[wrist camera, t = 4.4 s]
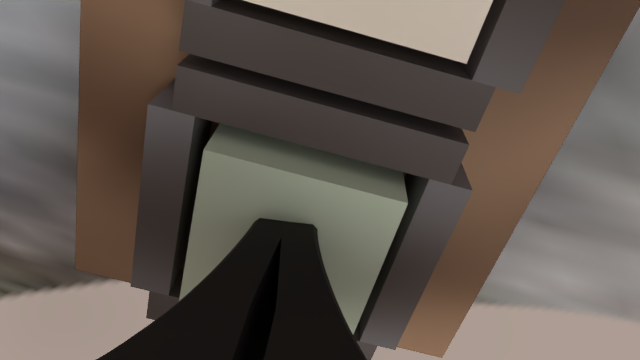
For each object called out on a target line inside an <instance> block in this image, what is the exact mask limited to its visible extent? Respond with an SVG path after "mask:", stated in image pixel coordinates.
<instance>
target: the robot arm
mask: <svg viewBox="0 0 640 360" xmlns="http://www.w3.org/2000/svg"><path fill="white" fill-rule="evenodd" d="M317 231H318V229H317V228H316V227H315V226H314V225H313V224H305V223H297V222H288V221H280V220H272V219H264V218H259V219H257V220H256V221H255V222H254V223H253V224H252V226H251V227H250V228H249V230H248V231H247V232H246V234H245V235H244V236H243V237H242V238H241V240H240V241H239V242H238V243H237V244H236V246H235V247H234V248H233V249H232V250H231V251H230V252H229V253H228V254H227V256H226V257H225V258H224V259H223V260H222V261H221V262H220V263H219V264H218V265H217V266H216V267H215V268H214V269H213V270H212V271H211V272H210V273H209V274H208V275H207V276H206V277H205V278H204V279H203V280H202V281H201V282H200V283H199V284H198V285H197V286H196V287H194V288H193V289H192V290H191V291H190V292H189V293H188V294H187V295H186V296H185V297H183V298H182V299H181V300H180V301H179V302H178V303H176V304H175V305H174V306H173V307H172V308H170V309H169V310H168V311H167V312H165V313H164V314H163V315H161V316H160V317H159V318H158V319H156V320H155V321H154V322H152V323H151V324H150V325H148V326H147V327H146V328H144V329H143V330H141V331H140V332H138V333H137V334H135V335H134V336H132V337H131V338H130V339H128V340H127V341H125V342H124V343H122V344H121V345H119V346H118V347H116V348H115V349H113V350H111V351H110V352H108V353H107V354H105V355H103V356H102V357H100V358H98V359H97V360H367V359H366V357H365V355H364V354H363V352H362V350H361V349H360V347H359V345H358V343H357V341H356V340H355V338H354V336H353V334H352V332H351V330H350V328H349V326H348V324H347V322H346V320H345V318H344V316H343V314H342V311H341V309H340V307H339V304H338V302H337V300H336V297H335V295H334V292H333V290H332V287H331V284H330V281H329V279H328V276H327V273H326V270H325V267H324V263H323V260H322V256H321V252H320V247H319V242H318V233H317Z"/></svg>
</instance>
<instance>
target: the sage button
mask: <svg viewBox="0 0 640 360" xmlns="http://www.w3.org/2000/svg"><path fill="white" fill-rule="evenodd" d="M407 205H408V199H407V193H406V188H405V182H404V176H403V172H401V171H397V170H393V169H390V168H386V167H382V166H378V165H375V164H371V163H367V162H363V161H360V160H356V159H352V158H348V157H345V156H341V155H337V154H333V153H330V152H326V151H322V150H318V149H315V148H311V147H307V146H303V145H300V144H296V143H292V142H288V141H285V140H281V139H277V138H273V137H270V136H266V135H262V134H258V133H255V132H251V131H247V130H243V129H240V128H236V127H232V126H228V125H225V124H221V123H220V124H219V126H218V127H217V129H216V130H215V132H214V134H213V135H212V137H211V138H210V140H209V142H208V143H207V145H206V146H205V148H204V150H203V156H202V162H201V168H200V174H199V180H198V187H197V193H196V199H195V205H194V211H193V217H192V224H191V230H190V236H189V242H188V248H187V254H186V261H185V267H184V273H183V279H182V285H181V291H180V298H179V301H180V300H181V299H182V298H183V297H185V296H186V295H187V294H188V293H189V292H190V291H191V290H192V289H193V288H194V287H196V286H197V285H198V284H199V283H200V282H201V281H202V280H203V279H204V278H205V277H206V276H207V275H208V274H209V273H210V272H211V271H212V270H213V269H214V268H215V267H216V266H217V265H218V264H219V263H220V262H221V261H222V260H223V259H224V258H225V257H226V256H227V254H228V253H229V252H230V251H231V250H232V249H233V248H234V247H235V246H236V244H237V243H238V242H239V241H240V240H241V238H242V237H243V236H244V235H245V234H246V232H247V231H248V230H249V228H250V227H251V226H252V224H253V223H254V222H255V221H256V220H257V219H259V218H264V219H272V220H280V221H288V222H297V223H305V224H313V225H314V226H315V227H316V228H317V229H318V231H317V233H318V242H319V247H320V252H321V256H322V260H323V263H324V267H325V270H326V273H327V276H328V279H329V281H330V284H331V287H332V290H333V292H334V295H335V297H336V300H337V302H338V304H339V307H340V309H341V311H342V314H343V316H344V318H345V320H346V322H347V324H348V326H349V328H350V330H351V332H352V334H354V332H355V329H356V327H357V325H358V322H359V320H360V317H361V315H362V313H363V310H364V308H365V306H366V303H367V301H368V298H369V296H370V294H371V291H372V289H373V286H374V284H375V282H376V279H377V277H378V274H379V272H380V270H381V267H382V265H383V262H384V260H385V258H386V255H387V253H388V250H389V248H390V246H391V243H392V241H393V238H394V236H395V234H396V231H397V229H398V227H399V224H400V222H401V219H402V217H403V215H404V212H405V210H406V207H407Z"/></svg>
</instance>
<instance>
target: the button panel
mask: <svg viewBox="0 0 640 360" xmlns="http://www.w3.org/2000/svg"><path fill="white" fill-rule="evenodd" d="M639 7H640V0H493V2H492V4H491V7H490V9H489V11H488V14H487V16H486V19H485V21H484V23H483V26H482V28H481V30H480V33H479V35H478V38H477V40H476V42H475V45H474V47H473V50H472V52H471V54H470V57H469V59H468V62H467V64H465V63H461V62H458V61H454V60H451V59H447V58H444V57H440V56H437V55H433V54H430V53H426V52H423V51H419V50H416V49H412V48H409V47H405V46H402V45H398V44H395V43H391V42H388V41H384V40H381V39H377V38H374V37H370V36H367V35H363V34H360V33H356V32H353V31H349V30H346V29H342V28H339V27H335V26H332V25H328V24H325V23H321V22H317V21H314V20H310V19H307V18H303V17H300V16H296V15H293V14H289V13H286V12H282V11H279V10H275V9H272V8H268V7H265V6H261V5H258V4H254V3H251V2H247V1H244V0H81V15H80V63H79V112H78V161H77V209H76V258H75V270H79V271H83V272H88V273H92V274H96V275H100V276H104V277H108V278H113V279H117V280H121V281H125V282H129V283H131V287H136V288H140V289H144V290H148V291H150V293H149V302H148V309H147V318H149V319H153V320H156V319H158V318H159V317H160V316H161V315H163V314H164V313H165V312H167V311H168V310H169V309H170V308H172V307H173V306H174V305H175V304H176V303H178V302H179V298H180V291H181V285H182V279H183V273H184V267H185V261H186V254H187V248H188V242H189V236H190V230H191V224H192V217H193V211H194V205H195V199H196V193H197V187H198V180H199V174H200V168H201V162H202V156H203V150H204V148H205V146H206V145H207V143H208V142H209V140H210V138H211V137H212V135H213V134H214V132H215V130H216V129H217V127H218V126H219V124H220V123H221V124H225V125H228V126H232V127H236V128H240V129H243V130H247V131H251V132H255V133H258V134H262V135H266V136H270V137H273V138H277V139H281V140H285V141H288V142H292V143H296V144H300V145H303V146H307V147H311V148H315V149H318V150H322V151H326V152H330V153H333V154H337V155H341V156H345V157H348V158H352V159H356V160H360V161H363V162H367V163H371V164H375V165H378V166H382V167H386V168H390V169H393V170H397V171H401V172H403V176H404V182H405V188H406V193H407V199H408V205H407V207H406V210H405V212H404V215H403V217H402V219H401V222H400V224H399V227H398V229H397V231H396V234H395V236H394V238H393V241H392V243H391V246H390V248H389V250H388V253H387V255H386V258H385V260H384V262H383V265H382V267H381V270H380V272H379V274H378V277H377V279H376V282H375V284H374V286H373V289H372V291H371V294H370V296H369V298H368V301H367V303H366V306H365V308H364V310H363V313H362V315H361V317H360V320H359V322H358V325H357V327H356V329H355V332H354V334H353V336H354V338H355V340H356V341H357V343H358V345H359V347H360V349H361V350H362V352H363V354H364V355H365V357H366V359H367V360H371V358H372V356H373V354H374V352H375V350H376V347H377V346H381V347H386V348H390V349H394V350H395V349H396V347H399V348H403V349H408V350H412V351H416V352H420V353H424V354H428V355H433V356H437V357H441V358H442V357H443V355H444V353H445V352H446V350H447V348H448V346H449V344H450V342H451V341H452V339H453V337H454V336H455V334H456V332H457V330H458V329H459V327H460V325H461V323H462V321H463V320H464V318H465V316H466V314H467V313H468V311H469V309H470V307H471V305H472V304H473V302H474V300H475V298H476V297H477V295H478V293H479V291H480V289H481V288H482V286H483V284H484V282H485V281H486V279H487V277H488V275H489V273H490V272H491V270H492V268H493V266H494V265H495V263H496V261H497V259H498V257H499V256H500V254H501V252H502V250H503V249H504V247H505V245H506V243H507V241H508V240H509V238H510V236H511V234H512V233H513V231H514V229H515V227H516V225H517V224H518V222H519V220H520V218H521V217H522V215H523V213H524V211H525V209H526V208H527V206H528V204H529V202H530V201H531V199H532V197H533V195H534V193H535V192H536V190H537V188H538V186H539V185H540V183H541V181H542V179H543V177H544V176H545V174H546V172H547V170H548V169H549V167H550V165H551V163H552V161H553V160H554V158H555V156H556V154H557V153H558V151H559V149H560V147H561V145H562V144H563V142H564V140H565V138H566V137H567V135H568V133H569V131H570V129H571V128H572V126H573V124H574V122H575V121H576V119H577V117H578V115H579V113H580V112H581V110H582V108H583V106H584V105H585V103H586V101H587V99H588V97H589V96H590V94H591V92H592V90H593V89H594V87H595V85H596V83H597V81H598V80H599V78H600V76H601V74H602V73H603V71H604V69H605V67H606V65H607V64H608V62H609V60H610V58H611V57H612V55H613V53H614V51H615V49H616V48H617V46H618V44H619V42H620V41H621V39H622V37H623V35H624V33H625V32H626V30H627V28H628V26H629V25H630V23H631V21H632V19H633V17H634V16H635V14H636V12H637V10H638V9H639Z"/></svg>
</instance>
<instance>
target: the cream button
mask: <svg viewBox="0 0 640 360" xmlns="http://www.w3.org/2000/svg"><path fill="white" fill-rule="evenodd" d="M244 1H247V2H251V3H254V4H258V5H261V6H265V7H268V8H272V9H275V10H279V11H282V12H286V13H289V14H293V15H296V16H300V17H303V18H307V19H310V20H314V21H317V22H321V23H325V24H328V25H332V26H335V27H339V28H342V29H346V30H349V31H353V32H356V33H360V34H363V35H367V36H370V37H374V38H377V39H381V40H384V41H388V42H391V43H395V44H398V45H402V46H405V47H409V48H412V49H416V50H419V51H423V52H426V53H430V54H433V55H437V56H440V57H444V58H447V59H451V60H454V61H458V62H461V63H465V64H467V62H468V59H469V57H470V54H471V52H472V50H473V47H474V45H475V42H476V40H477V38H478V35H479V33H480V30H481V28H482V26H483V23H484V21H485V19H486V16H487V14H488V11H489V9H490V7H491V4H492V2H493V0H244Z"/></svg>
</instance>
